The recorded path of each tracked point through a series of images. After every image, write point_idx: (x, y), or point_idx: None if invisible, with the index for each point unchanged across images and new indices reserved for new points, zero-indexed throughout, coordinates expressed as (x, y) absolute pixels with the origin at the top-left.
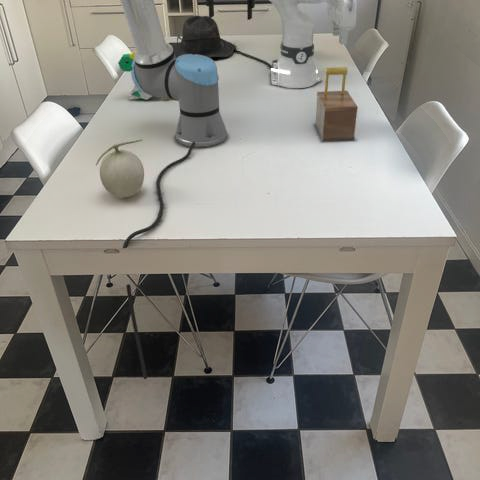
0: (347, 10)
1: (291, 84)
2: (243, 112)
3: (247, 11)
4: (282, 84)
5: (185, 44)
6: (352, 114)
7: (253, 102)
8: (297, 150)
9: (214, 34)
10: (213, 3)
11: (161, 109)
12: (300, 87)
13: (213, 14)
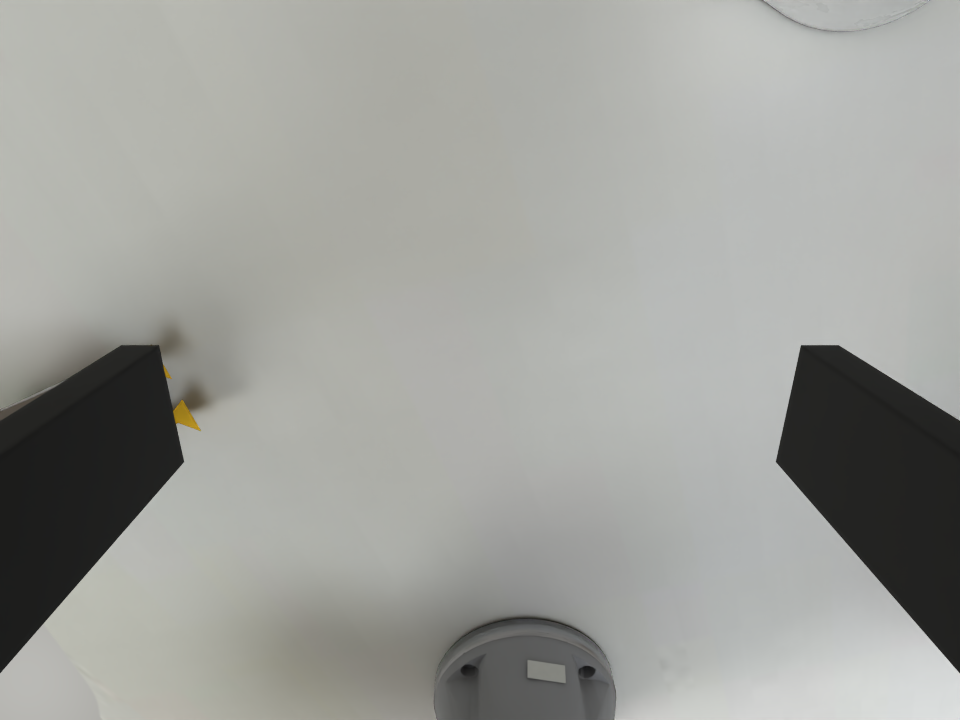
0: None
1: (853, 21)
2: (614, 455)
3: (842, 534)
4: (782, 3)
5: None
6: None
7: (634, 326)
8: (867, 689)
9: None
10: (17, 451)
11: (237, 510)
12: (907, 12)
13: (149, 381)
